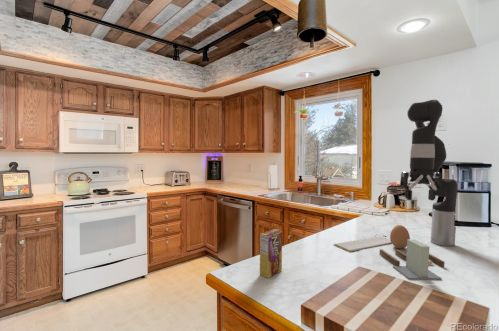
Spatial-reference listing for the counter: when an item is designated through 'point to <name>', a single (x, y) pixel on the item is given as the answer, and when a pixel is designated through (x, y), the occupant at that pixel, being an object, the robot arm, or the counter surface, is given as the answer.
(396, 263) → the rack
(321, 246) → the counter surface
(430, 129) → the robot arm
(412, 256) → the pale green block
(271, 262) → the candy box
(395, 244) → the egg
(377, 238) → the baseboard molding
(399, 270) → the rubber mat
